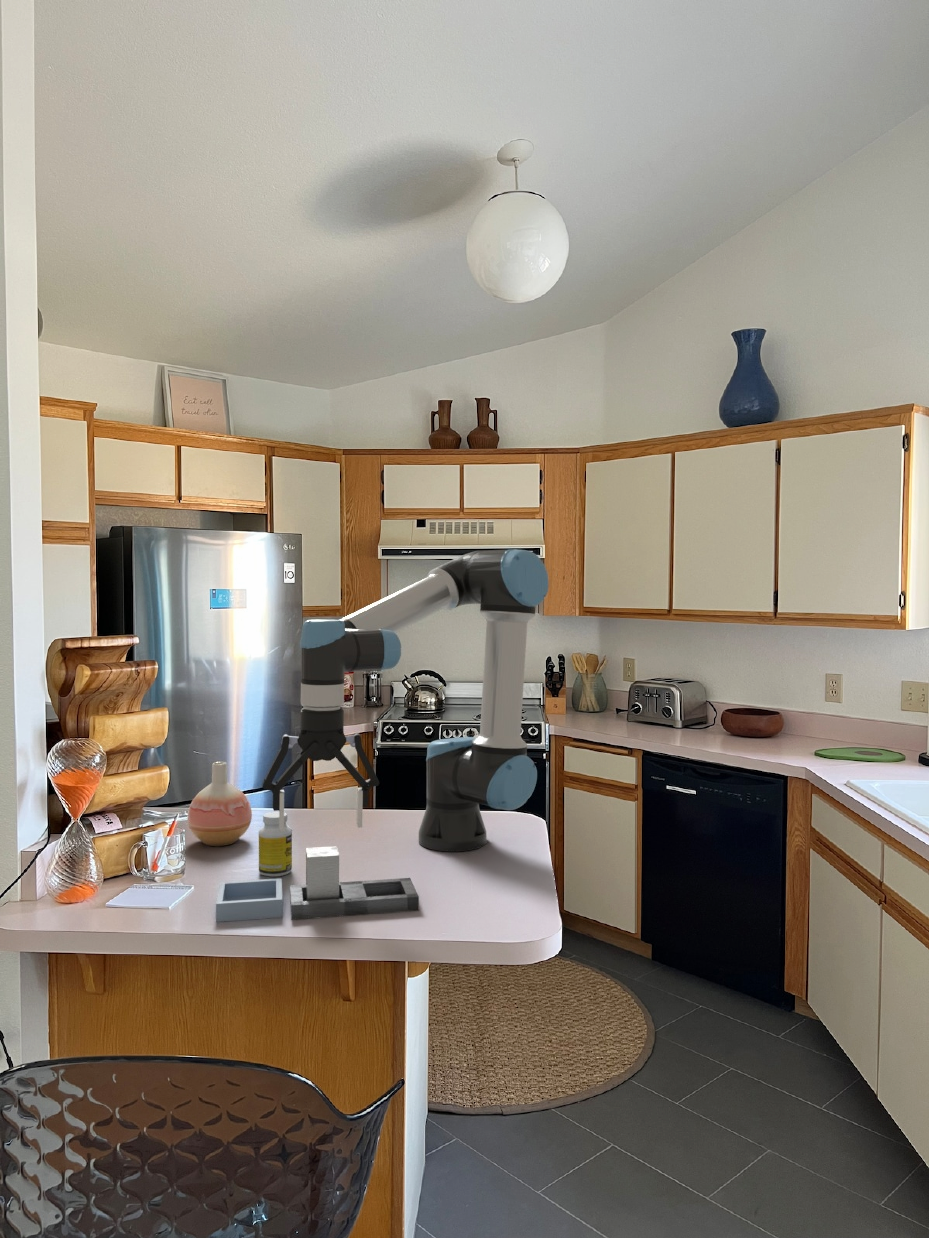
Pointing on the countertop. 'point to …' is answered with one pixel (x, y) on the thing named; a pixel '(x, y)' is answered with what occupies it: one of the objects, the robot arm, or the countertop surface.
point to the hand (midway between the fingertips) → (320, 827)
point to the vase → (219, 811)
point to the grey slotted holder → (357, 899)
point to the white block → (322, 873)
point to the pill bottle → (275, 846)
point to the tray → (249, 900)
